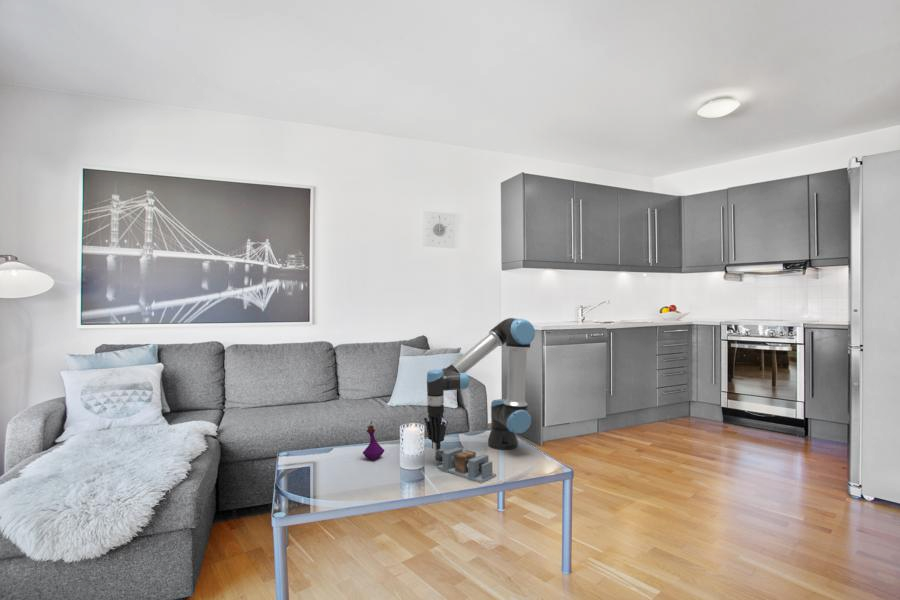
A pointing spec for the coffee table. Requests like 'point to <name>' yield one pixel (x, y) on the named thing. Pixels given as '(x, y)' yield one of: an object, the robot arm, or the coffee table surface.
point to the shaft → (440, 458)
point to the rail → (472, 469)
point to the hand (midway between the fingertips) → (436, 456)
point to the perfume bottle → (373, 445)
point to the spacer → (463, 460)
